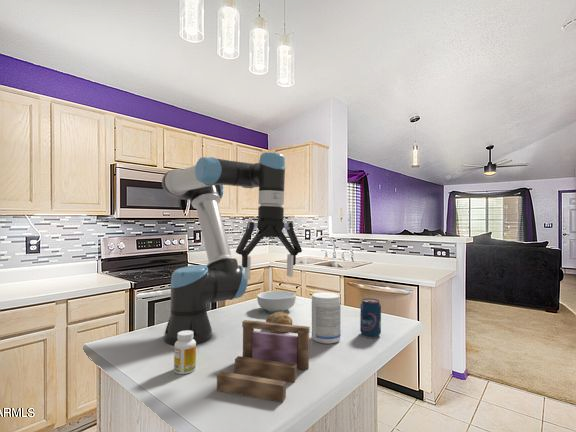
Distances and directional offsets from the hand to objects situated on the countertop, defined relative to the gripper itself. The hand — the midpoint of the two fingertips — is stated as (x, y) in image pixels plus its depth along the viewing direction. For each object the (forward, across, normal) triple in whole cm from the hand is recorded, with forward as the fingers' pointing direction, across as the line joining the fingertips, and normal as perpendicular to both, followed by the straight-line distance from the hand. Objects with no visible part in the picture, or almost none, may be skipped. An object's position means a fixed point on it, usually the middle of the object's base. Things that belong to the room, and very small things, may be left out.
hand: (269, 277), depth 97 cm
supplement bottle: (+23, -24, -2) cm, 33 cm away
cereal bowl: (+24, +21, +41) cm, 52 cm away
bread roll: (+23, +12, +18) cm, 32 cm away
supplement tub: (+23, +22, +2) cm, 32 cm away
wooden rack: (+22, -6, -14) cm, 27 cm away
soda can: (+22, +38, 0) cm, 45 cm away
